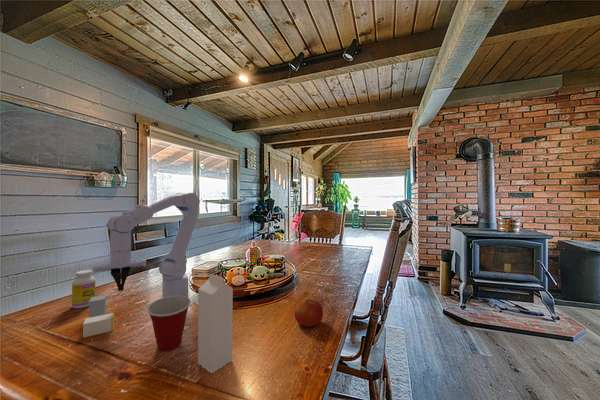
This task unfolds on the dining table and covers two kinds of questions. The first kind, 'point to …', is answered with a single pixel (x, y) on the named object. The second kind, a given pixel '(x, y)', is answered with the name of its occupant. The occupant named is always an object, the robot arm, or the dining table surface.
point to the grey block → (97, 306)
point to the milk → (214, 324)
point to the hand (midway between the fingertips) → (120, 289)
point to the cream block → (98, 325)
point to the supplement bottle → (83, 289)
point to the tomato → (308, 313)
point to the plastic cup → (169, 320)
